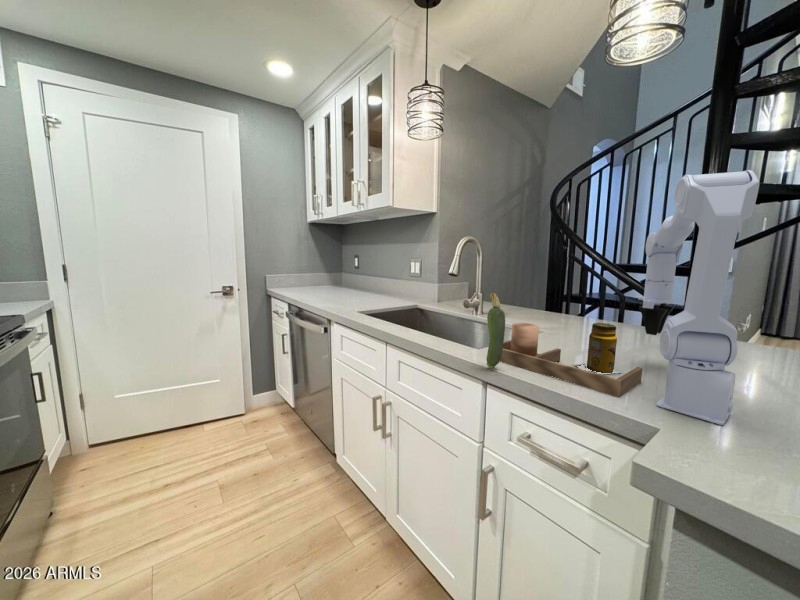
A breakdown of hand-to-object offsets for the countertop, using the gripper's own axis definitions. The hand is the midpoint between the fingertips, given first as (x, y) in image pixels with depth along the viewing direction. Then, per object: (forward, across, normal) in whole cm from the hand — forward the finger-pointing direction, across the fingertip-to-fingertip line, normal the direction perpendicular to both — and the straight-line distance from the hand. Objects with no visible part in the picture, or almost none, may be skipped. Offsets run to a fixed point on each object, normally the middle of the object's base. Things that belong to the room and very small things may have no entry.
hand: (653, 333), depth 85 cm
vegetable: (+10, +34, -24) cm, 43 cm away
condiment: (+10, +12, -8) cm, 18 cm away
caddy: (+9, +20, -14) cm, 27 cm away
